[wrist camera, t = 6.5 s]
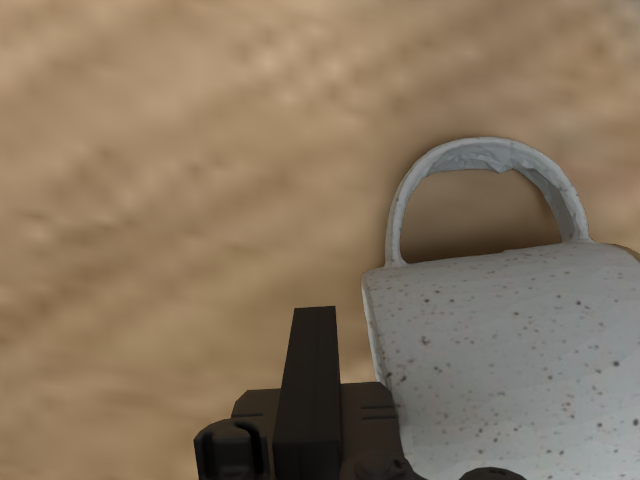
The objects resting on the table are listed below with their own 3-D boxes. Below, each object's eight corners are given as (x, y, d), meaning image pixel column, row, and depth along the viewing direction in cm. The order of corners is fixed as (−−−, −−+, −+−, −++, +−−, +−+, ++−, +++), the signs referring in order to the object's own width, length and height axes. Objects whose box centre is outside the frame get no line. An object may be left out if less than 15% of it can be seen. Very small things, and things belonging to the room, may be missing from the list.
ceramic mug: (607, 399, 20) (765, 569, 13) (388, 437, 21) (418, 621, 14) (578, 110, 18) (751, 115, 11) (331, 162, 19) (330, 200, 11)
